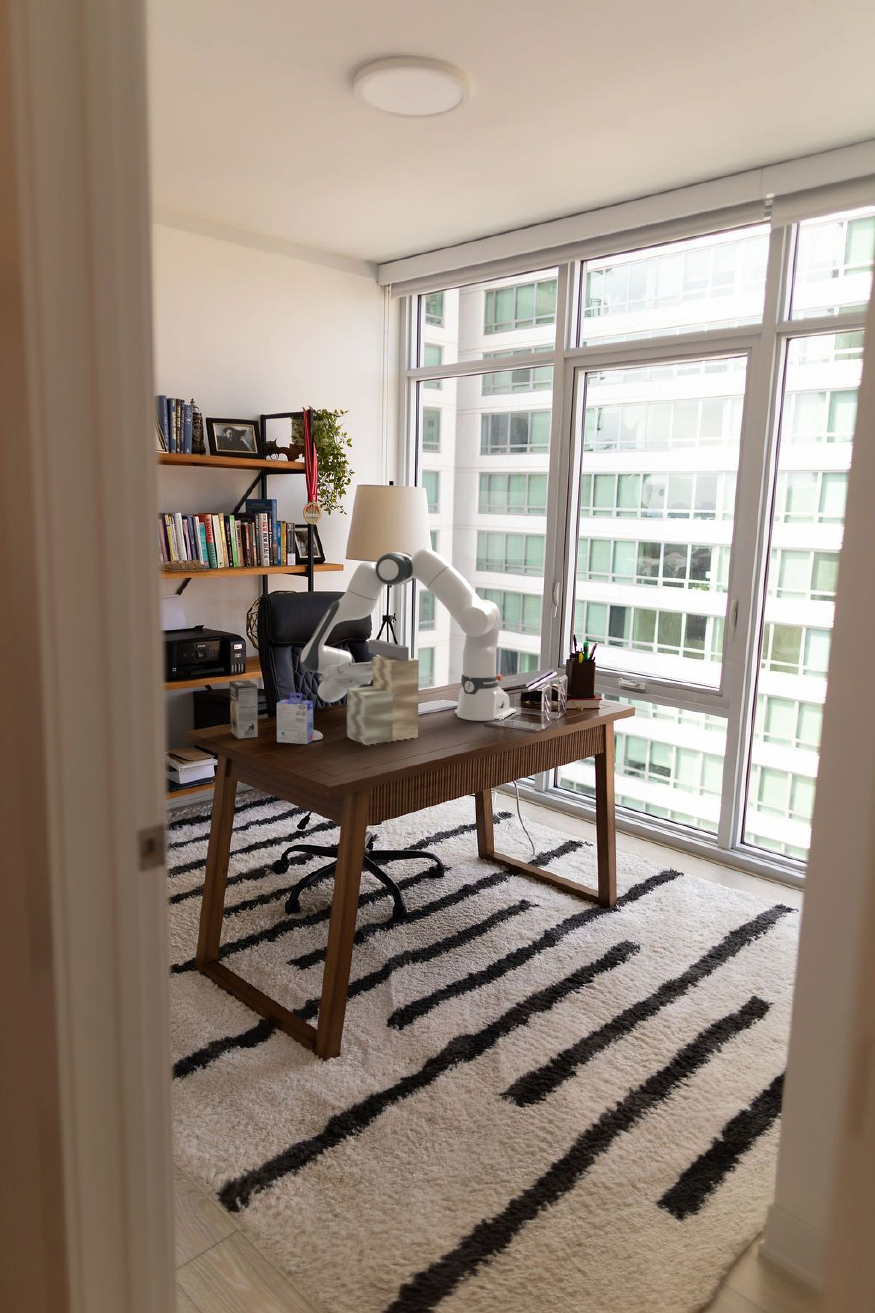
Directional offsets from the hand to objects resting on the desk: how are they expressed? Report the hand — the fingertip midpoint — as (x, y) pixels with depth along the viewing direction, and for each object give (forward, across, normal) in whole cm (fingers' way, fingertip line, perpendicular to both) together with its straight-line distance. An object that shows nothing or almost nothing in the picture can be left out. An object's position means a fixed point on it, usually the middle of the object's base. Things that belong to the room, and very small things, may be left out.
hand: (362, 662), depth 288 cm
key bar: (+16, 0, +4) cm, 17 cm away
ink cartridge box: (0, -29, +23) cm, 37 cm away
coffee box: (-13, -39, +15) cm, 44 cm away
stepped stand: (+8, -4, +27) cm, 29 cm away
